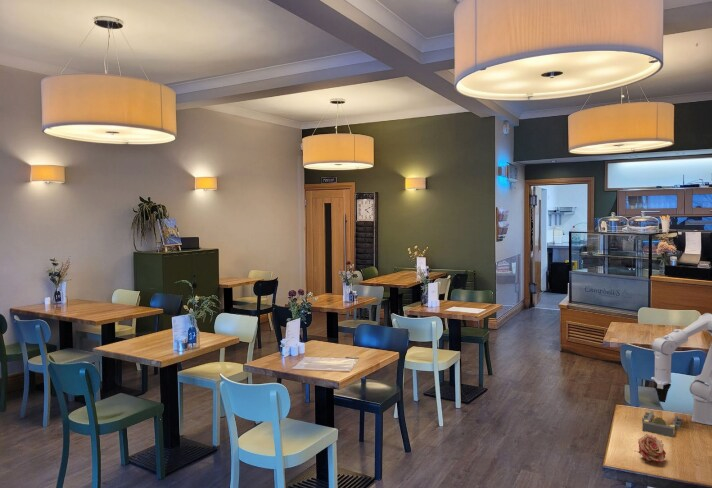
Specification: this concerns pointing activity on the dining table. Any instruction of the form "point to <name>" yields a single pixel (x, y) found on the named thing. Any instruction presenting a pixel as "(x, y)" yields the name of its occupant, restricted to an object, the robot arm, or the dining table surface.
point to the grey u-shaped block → (660, 425)
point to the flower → (651, 448)
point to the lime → (659, 421)
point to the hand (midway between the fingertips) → (662, 401)
